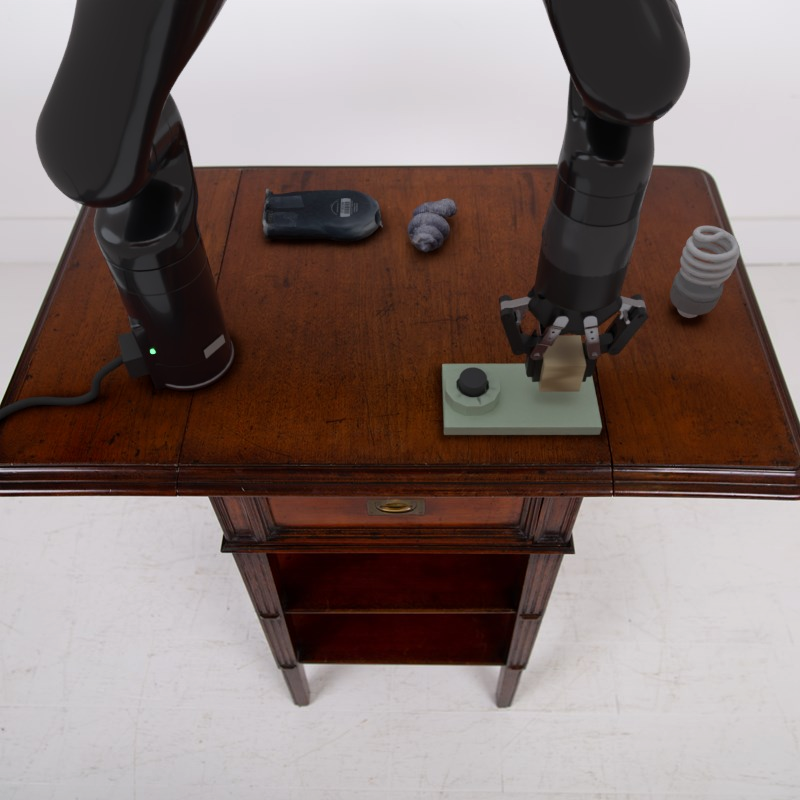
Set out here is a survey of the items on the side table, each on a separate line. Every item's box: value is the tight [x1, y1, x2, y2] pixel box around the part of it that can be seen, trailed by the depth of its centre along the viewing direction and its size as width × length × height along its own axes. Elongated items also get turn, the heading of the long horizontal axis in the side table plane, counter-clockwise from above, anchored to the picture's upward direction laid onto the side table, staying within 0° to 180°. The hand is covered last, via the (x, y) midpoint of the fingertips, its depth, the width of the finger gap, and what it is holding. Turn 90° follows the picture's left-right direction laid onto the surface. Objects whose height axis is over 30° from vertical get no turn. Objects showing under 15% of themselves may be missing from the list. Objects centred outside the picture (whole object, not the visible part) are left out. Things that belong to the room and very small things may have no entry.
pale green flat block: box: [441, 363, 603, 436], centre depth 79 cm, size 16×9×3 cm, turn 89°
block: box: [538, 334, 586, 392], centre depth 76 cm, size 4×4×4 cm
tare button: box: [459, 367, 487, 397], centre depth 78 cm, size 3×3×2 cm
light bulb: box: [669, 225, 741, 319], centre depth 83 cm, size 6×6×12 cm
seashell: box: [407, 197, 458, 253], centre depth 96 cm, size 5×5×10 cm
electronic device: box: [262, 188, 383, 243], centre depth 98 cm, size 9×6×15 cm
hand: (557, 375), depth 77 cm, fingers closed on block, 4 cm apart
